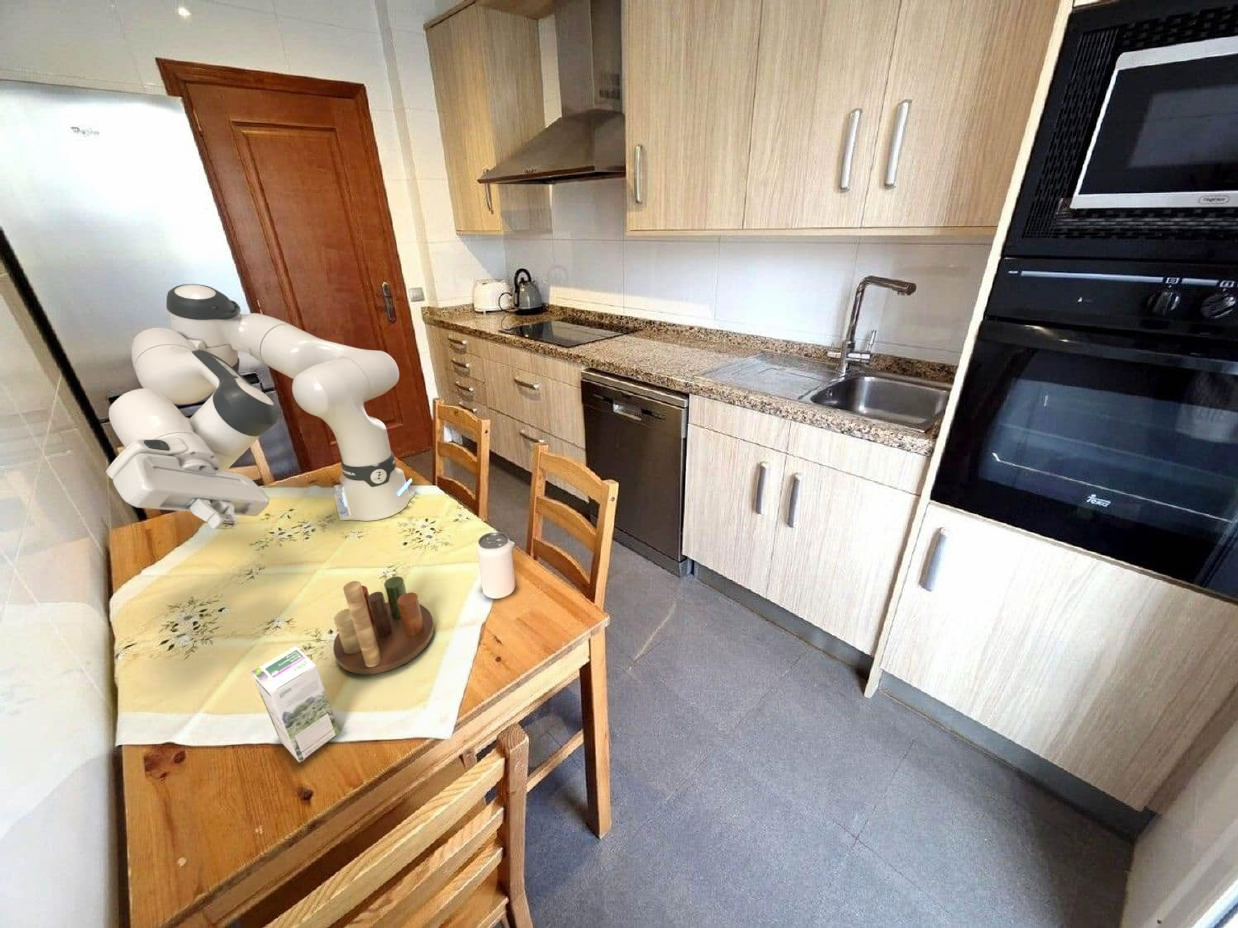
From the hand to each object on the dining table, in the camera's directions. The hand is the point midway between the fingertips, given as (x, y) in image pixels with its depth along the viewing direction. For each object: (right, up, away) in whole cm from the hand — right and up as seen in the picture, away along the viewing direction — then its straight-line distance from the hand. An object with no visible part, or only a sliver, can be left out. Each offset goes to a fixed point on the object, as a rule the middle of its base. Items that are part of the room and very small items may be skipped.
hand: (226, 526), depth 76 cm
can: (+35, -16, +26) cm, 47 cm away
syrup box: (+15, -30, -3) cm, 34 cm away
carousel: (+18, -21, +12) cm, 31 cm away
